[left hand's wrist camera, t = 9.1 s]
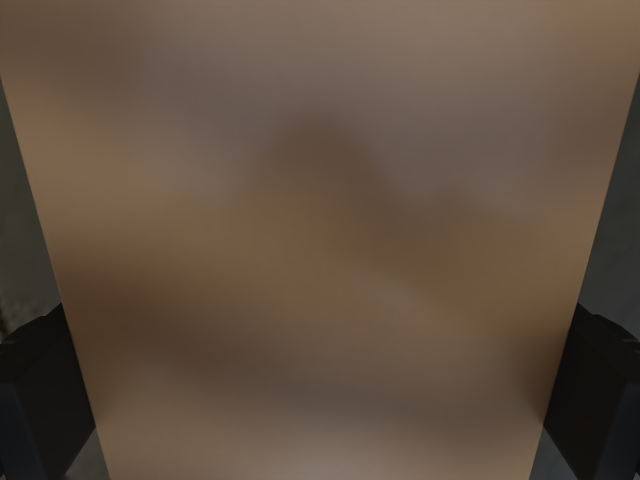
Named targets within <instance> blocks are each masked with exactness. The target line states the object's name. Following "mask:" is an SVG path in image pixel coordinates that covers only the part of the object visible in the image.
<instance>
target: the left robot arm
mask: <svg viewBox="0 0 640 480" xmlns="http://www.w3.org/2000/svg"><path fill="white" fill-rule="evenodd" d="M543 426H544V428H545V430H546V431H547V433H548V434H549V436H550V437H551V439H552V440H553V442H554V443H555V445H556V446H557V448H558V450H559V451H560V453H561V454H562V456H563V457H564V459H565V460H566V462H567V463H568V465H569V467H570V468H571V470H572V471H573V473H574V474H575V476H576V477H577V479H578V480H633V478H634V476H635V473H636V472H637V473H638V475H639V476H640V342H638V339H636V338H635V337H634V336H633V335H632V334H630V333H629V332H628V331H627V330H625V329H624V328H623V327H622V326H620V325H618V324H616V323H614V322H612V321H610V320H608V319H606V318H604V317H602V316H601V315H592V314H591V313H590V312H589V311H587V310H586V309H585V308H584V307H583V306H582V305H580V304H579V303H578V302H577V304H576V307H575V311H574V315H573V318H572V322H571V326H570V329H569V333H568V337H567V340H566V344H565V348H564V351H563V355H562V359H561V363H560V366H559V370H558V374H557V377H556V381H555V385H554V388H553V392H552V396H551V399H550V403H549V407H548V410H547V414H546V418H545V421H544V425H543ZM95 427H96V426H95V422H94V419H93V415H92V411H91V408H90V404H89V400H88V397H87V393H86V389H85V386H84V382H83V378H82V375H81V371H80V367H79V364H78V360H77V356H76V353H75V349H74V345H73V342H72V338H71V334H70V331H69V327H68V323H67V320H66V316H65V312H64V309H63V305H62V302H61V303H60V304H59V305H58V306H57V307H56V308H54V309H53V310H52V311H51V312H50V313H49V314H47V315H46V316H40V317H38V318H36V319H34V320H32V321H31V322H29V323H27V324H25V325H23V326H21V327H19V328H18V329H16V330H15V331H14V332H13V333H11V334H10V335H9V336H8V337H7V338H5V339H4V340H3V341H2V344H0V478H1V476H2V475H3V474H4V475H5V477H6V480H62V478H63V477H64V475H65V473H66V472H67V470H68V469H69V467H70V466H71V464H72V463H73V461H74V460H75V458H76V457H77V455H78V453H79V452H80V450H81V449H82V447H83V446H84V444H85V443H86V441H87V440H88V438H89V436H90V435H91V433H92V432H93V430H94V429H95Z"/></svg>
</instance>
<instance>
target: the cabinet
mask: <svg viewBox="0 0 640 480" xmlns="http://www.w3.org/2000/svg"><path fill="white" fill-rule="evenodd" d="M639 72H640V0H0V78H1V81H2V85H3V89H4V92H5V96H6V100H7V103H8V107H9V111H10V114H11V118H12V122H13V125H14V129H15V133H16V136H17V140H18V144H19V147H20V151H21V155H22V158H23V162H24V166H25V169H26V173H27V177H28V180H29V184H30V188H31V191H32V195H33V199H34V202H35V206H36V210H37V213H38V217H39V221H40V224H41V228H42V232H43V235H44V239H45V243H46V246H47V250H48V254H49V257H50V261H51V265H52V268H53V272H54V276H55V279H56V283H57V287H58V290H59V294H60V298H61V301H62V305H63V309H64V312H65V316H66V320H67V323H68V327H69V331H70V334H71V338H72V342H73V345H74V349H75V353H76V356H77V360H78V364H79V367H80V371H81V375H82V378H83V382H84V386H85V389H86V393H87V397H88V400H89V404H90V408H91V411H92V415H93V419H94V422H95V426H96V430H97V433H98V437H99V441H100V444H101V448H102V452H103V455H104V459H105V463H106V466H107V470H108V474H109V477H110V480H529V476H530V473H531V469H532V465H533V462H534V458H535V454H536V451H537V447H538V443H539V440H540V436H541V432H542V429H543V425H544V421H545V418H546V414H547V410H548V407H549V403H550V399H551V396H552V392H553V388H554V385H555V381H556V377H557V374H558V370H559V366H560V363H561V359H562V355H563V351H564V348H565V344H566V340H567V337H568V333H569V329H570V326H571V322H572V318H573V315H574V311H575V307H576V304H577V300H578V296H579V293H580V289H581V285H582V282H583V278H584V274H585V271H586V267H587V263H588V260H589V256H590V252H591V249H592V245H593V241H594V238H595V234H596V230H597V227H598V223H599V219H600V216H601V212H602V208H603V205H604V201H605V197H606V194H607V190H608V186H609V182H610V179H611V175H612V171H613V168H614V164H615V160H616V157H617V153H618V149H619V146H620V142H621V138H622V135H623V131H624V127H625V124H626V120H627V116H628V113H629V109H630V105H631V102H632V98H633V94H634V91H635V87H636V83H637V80H638V76H639Z"/></svg>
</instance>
